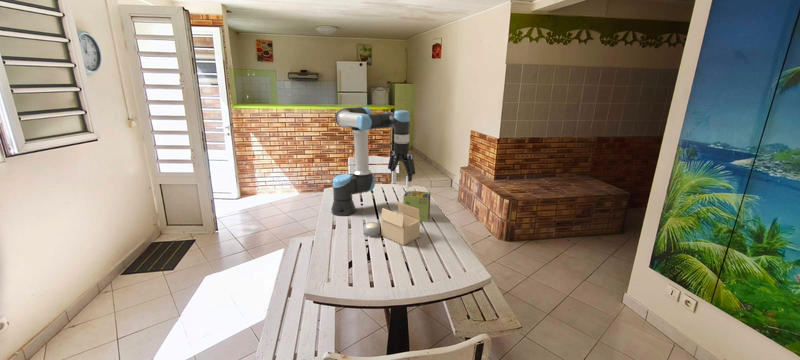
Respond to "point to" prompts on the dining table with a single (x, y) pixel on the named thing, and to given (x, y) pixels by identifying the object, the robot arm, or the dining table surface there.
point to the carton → (401, 230)
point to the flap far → (408, 210)
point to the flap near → (392, 217)
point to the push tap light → (371, 229)
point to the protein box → (418, 203)
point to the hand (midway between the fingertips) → (401, 184)
